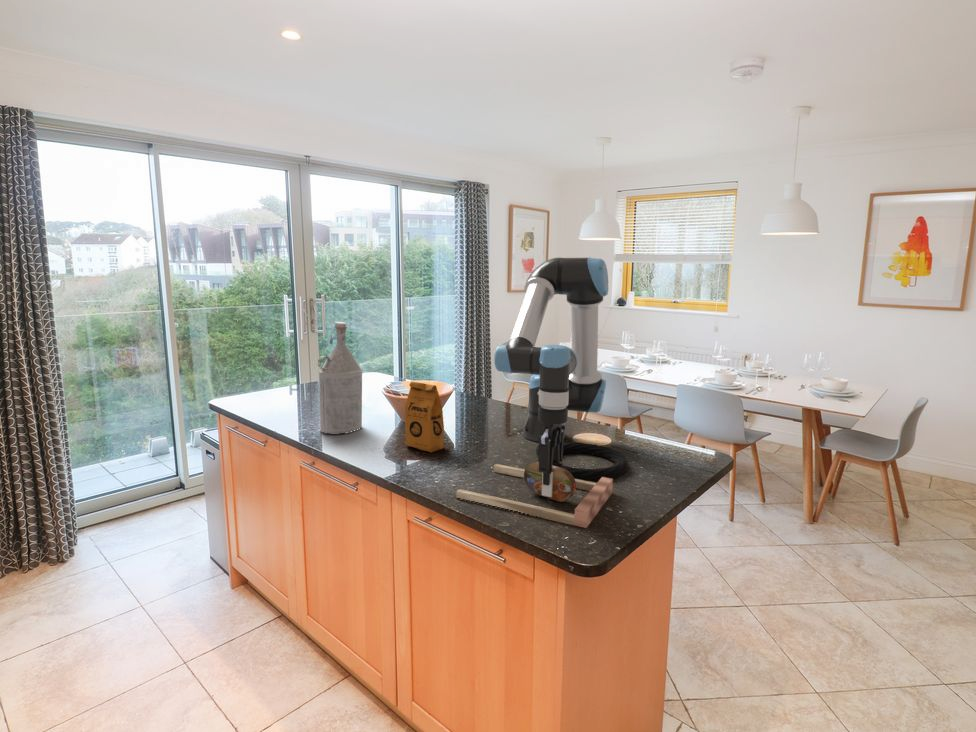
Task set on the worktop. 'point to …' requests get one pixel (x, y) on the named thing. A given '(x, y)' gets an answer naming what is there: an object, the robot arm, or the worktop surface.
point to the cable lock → (597, 450)
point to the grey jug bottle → (340, 388)
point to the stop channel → (580, 518)
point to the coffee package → (424, 418)
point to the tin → (561, 482)
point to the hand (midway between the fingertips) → (549, 492)
